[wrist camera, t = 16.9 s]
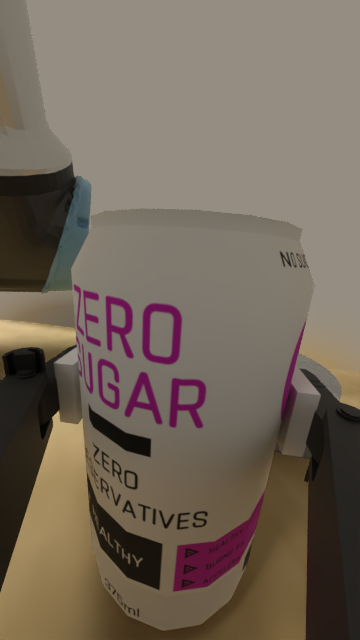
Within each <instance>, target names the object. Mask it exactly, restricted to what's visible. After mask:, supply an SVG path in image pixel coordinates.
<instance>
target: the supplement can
mask: <svg viewBox="0 0 360 640" xmlns="http://www.w3.org/2000/svg"><path fill="white" fill-rule="evenodd" d="M91 226H92V227H91V230H90V232H89V233H88V236H87V238H86V240H85V242H84V244H83V246H82V248H81V250H80V252H79V254H78V256H77V258H76V260H75V262H74V264H73V266H72V268H71V275H72V288H73V300H74V312H75V313H74V314H75V326H76V339H77V352H78V365H79V378H80V391H81V404H82V417H83V430H84V443H85V456H86V469H87V482H88V495H89V508H90V521H91V534H92V547H93V551H94V555H95V559H96V562H97V566H98V569H99V573H100V577H101V580H102V584H103V586H104V587H105V588H106V589H107V591H108V592H109V593H110V594H111V596H112V597H113V598H114V600H115V601H116V602H117V603H118V605H119V606H120V607H121V608H122V610H123V611H124V612H125V613H126V615H127V616H129V617H132V618H134V619H136V620H139V621H141V622H143V623H146V624H148V625H150V626H153V627H155V628H157V629H160V630H162V631H166V630H172V629H178V628H184V627H190V626H196V625H201V624H202V623H204V622H205V621H206V620H207V619H208V618H210V617H211V616H212V615H213V614H214V613H215V612H217V611H218V610H219V609H220V608H221V607H223V606H224V605H225V604H226V603H227V602H229V601H230V600H231V598H232V596H233V594H234V592H235V589H236V587H237V585H238V583H239V581H240V579H241V577H242V575H243V573H244V570H245V568H246V566H247V563H248V558H249V554H250V550H251V546H252V542H253V538H254V534H255V530H256V526H257V521H258V517H259V513H260V509H261V505H262V501H263V497H264V493H265V489H266V484H267V480H268V476H269V472H270V468H271V464H272V460H273V456H274V451H275V447H276V443H277V439H278V435H279V431H280V427H281V423H282V419H283V414H284V410H285V406H286V402H287V398H288V394H289V390H290V386H291V382H292V377H293V373H294V369H295V365H296V361H297V357H298V353H299V349H300V344H301V340H302V336H303V332H304V328H305V324H306V320H307V316H308V312H309V307H310V303H311V299H312V295H313V290H314V287H315V286H314V282H313V279H312V277H311V273H310V270H309V267H308V264H307V261H306V258H305V255H304V252H303V249H302V247H301V243H300V237H301V232H302V229H301V228H299V227H296V226H294V225H292V224H290V223H288V222H283V221H277V220H272V219H267V218H261V217H257V216H251V215H242V214H231V213H222V212H211V211H201V210H175V209H174V210H173V209H129V210H115V211H104V212H101V213H98V214H95V215H92V216H91Z"/></svg>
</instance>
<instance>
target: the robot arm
mask: <svg viewBox="0 0 360 640" xmlns="http://www.w3.org/2000/svg"><path fill="white" fill-rule="evenodd" d="M90 204H91V184H90V182H89V181H88V180H86V179H83V178H82V177H81V176H76V177H74V173H73V165H72V157H71V153H70V151H69V149H67V147H66V146H65V145H64V144H63V143H62V142H61V141H60V139H59V138H58V137H57V136H56V135H55V134H54V133H53V132H52V130H51V129H50V128H49V126H48V123H47V121H46V117H45V110H44V106H43V99H42V93H41V87H40V81H39V75H38V70H37V63H36V58H35V52H34V46H33V40H32V34H31V29H30V22H29V16H28V10H27V5H26V0H0V291H7V292H41V293H47V292H48V291H72V290H73V288H72V275H71V268H72V266H73V264H74V262H75V260H76V258H77V256H78V254H79V252H80V250H81V248H82V246H83V244H84V242H85V240H86V238H87V236H88V233H89V218H90ZM2 357H3V362H4V368H5V373H6V376H5V378H4V379H3V380H0V591H1V588H2V585H3V582H4V579H5V576H6V572H7V569H8V566H9V563H10V560H11V557H12V554H13V550H14V547H15V544H16V541H17V538H18V535H19V532H20V528H21V525H22V522H23V519H24V516H25V513H26V509H27V506H28V503H29V500H30V497H31V494H32V491H33V487H34V484H35V481H36V478H37V475H38V472H39V469H40V465H41V462H42V459H43V456H44V453H45V450H46V447H47V443H48V440H49V437H50V434H51V431H52V428H53V419H52V417H53V416H54V415H55V414H56V413H57V412H58V411H59V414H60V422H66V423H73V424H78V423H79V422H80V420H81V419H82V418H83V417H82V404H81V391H80V378H79V365H78V352H77V345H75V346H72V347H70V348H68V349H66V350H65V351H63V352H62V353H60V354H59V355H57V356H56V357H54V358H53V359H51V360H50V361H48V362H46V363H45V356H44V350H42V349H40V348H32V347H29V348H21V349H17V350H13V351H11V352H8V353H6V354H5V355H3V356H2ZM277 443H278V446H279V448H280V451H281V454H283V455H290V456H297V457H303V454H304V451H305V448H306V445H307V446H308V448H309V450H310V452H311V454H312V456H311V459H310V463H309V466H308V469H307V472H306V476H305V479H304V481H306V482H308V480H309V485H308V543H307V601H306V640H360V410H359V409H357V408H355V407H352V406H350V405H347V404H343V403H340V402H339V401H338V400H337V398H336V397H335V396H334V395H333V394H332V393H331V392H330V391H329V390H328V389H327V388H326V386H325V385H324V384H323V383H321V381H320V380H319V379H318V378H317V377H316V376H315V375H314V374H313V373H311V372H309V371H308V370H306V369H300V368H298V367H297V366H296V365H295V369H294V373H293V377H292V382H291V386H290V390H289V394H288V398H287V402H286V406H285V410H284V414H283V419H282V423H281V427H280V431H279V435H278V439H277Z"/></svg>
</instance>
